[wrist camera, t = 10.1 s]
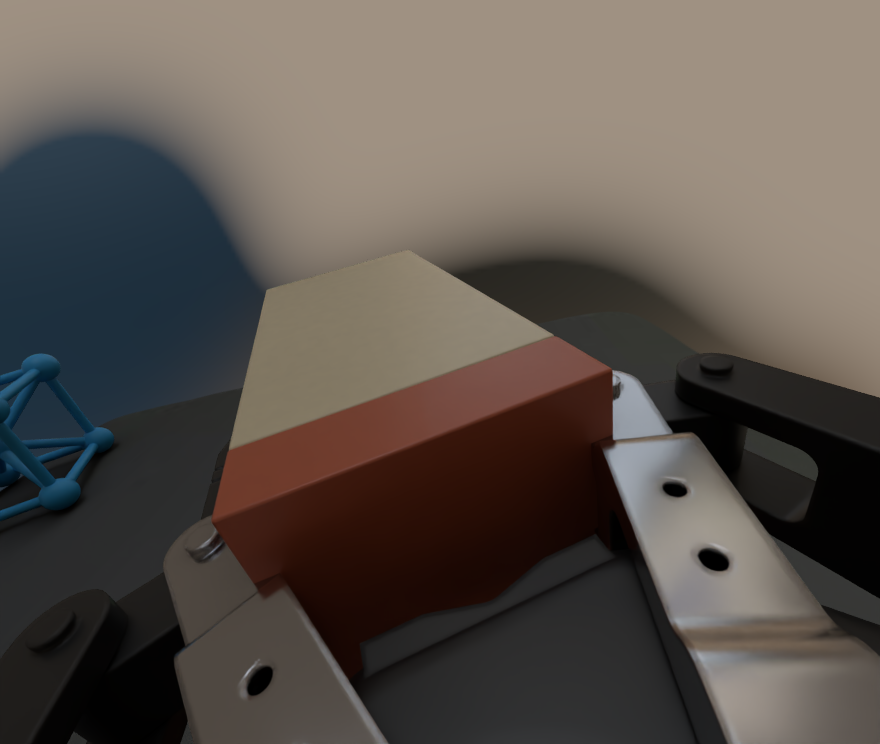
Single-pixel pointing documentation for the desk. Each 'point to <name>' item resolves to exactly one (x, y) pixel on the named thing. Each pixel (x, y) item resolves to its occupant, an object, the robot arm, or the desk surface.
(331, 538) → the carton
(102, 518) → the desk surface
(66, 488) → the molecular structure
